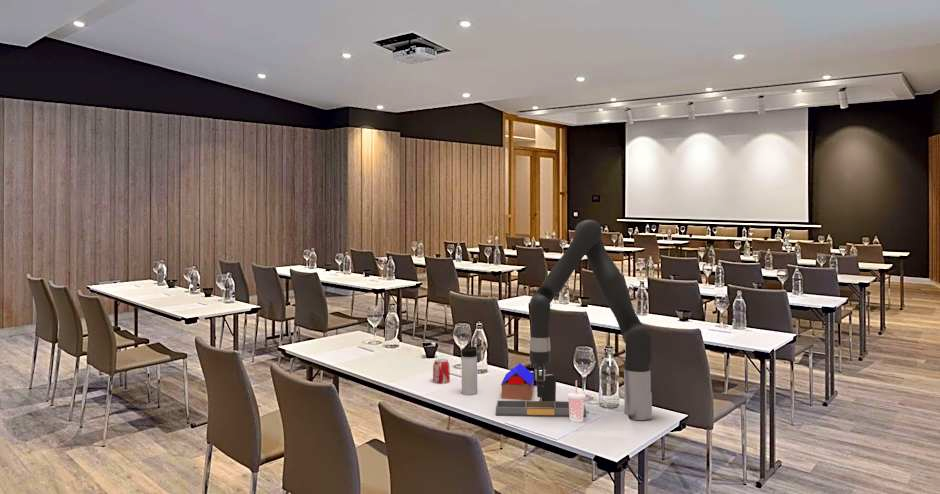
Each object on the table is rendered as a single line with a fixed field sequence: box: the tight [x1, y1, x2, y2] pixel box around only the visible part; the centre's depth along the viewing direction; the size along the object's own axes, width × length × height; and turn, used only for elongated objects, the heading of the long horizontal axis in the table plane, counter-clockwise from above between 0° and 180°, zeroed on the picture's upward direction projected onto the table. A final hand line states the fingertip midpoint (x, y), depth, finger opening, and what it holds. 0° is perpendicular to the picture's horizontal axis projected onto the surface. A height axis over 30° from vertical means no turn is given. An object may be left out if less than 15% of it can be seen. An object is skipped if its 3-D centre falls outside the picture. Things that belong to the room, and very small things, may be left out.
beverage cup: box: [567, 379, 586, 423], centre depth 228 cm, size 6×6×14 cm
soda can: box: [432, 358, 451, 385], centre depth 278 cm, size 7×7×12 cm
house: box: [500, 363, 535, 401], centre depth 264 cm, size 12×20×12 cm, turn 171°
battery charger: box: [538, 373, 557, 401], centre depth 251 cm, size 7×4×11 cm, turn 122°
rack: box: [495, 400, 587, 418], centre depth 238 cm, size 32×10×3 cm, turn 85°
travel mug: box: [461, 346, 478, 396], centre depth 262 cm, size 6×7×20 cm
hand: (540, 394), depth 238 cm, fingers open, 6 cm apart
